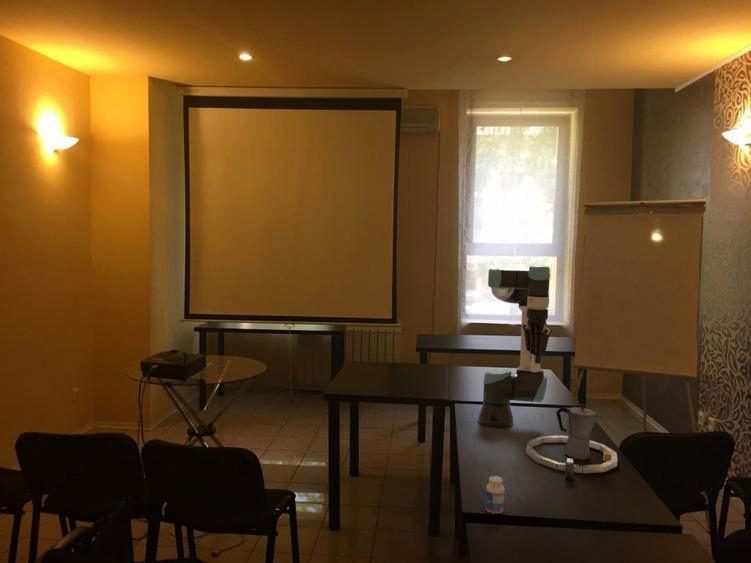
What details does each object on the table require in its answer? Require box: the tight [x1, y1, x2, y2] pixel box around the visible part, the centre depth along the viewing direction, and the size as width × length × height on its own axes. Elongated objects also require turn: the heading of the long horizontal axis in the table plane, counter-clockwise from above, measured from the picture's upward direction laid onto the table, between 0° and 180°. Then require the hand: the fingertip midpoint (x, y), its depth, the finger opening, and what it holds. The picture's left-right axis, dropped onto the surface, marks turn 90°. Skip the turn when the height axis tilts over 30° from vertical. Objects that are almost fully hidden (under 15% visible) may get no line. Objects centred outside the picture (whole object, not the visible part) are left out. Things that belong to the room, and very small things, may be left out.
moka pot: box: [556, 403, 601, 461], centre depth 222 cm, size 10×15×20 cm, turn 76°
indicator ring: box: [525, 435, 618, 481], centre depth 218 cm, size 32×39×5 cm
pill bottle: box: [485, 475, 505, 514], centre depth 177 cm, size 6×5×10 cm
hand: (534, 371), depth 218 cm, fingers closed
